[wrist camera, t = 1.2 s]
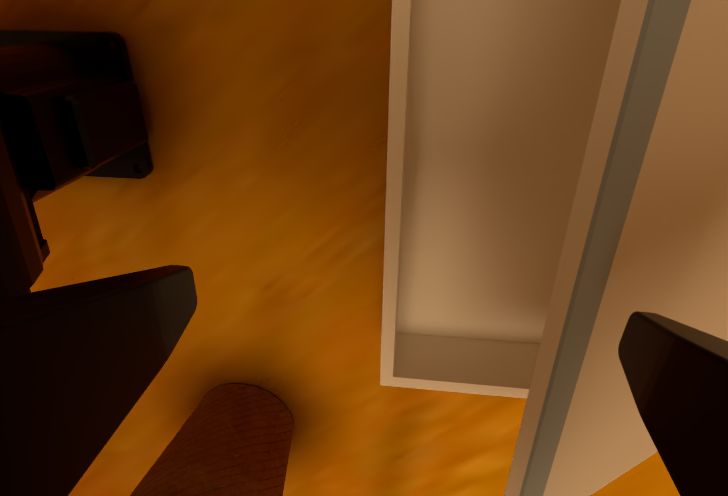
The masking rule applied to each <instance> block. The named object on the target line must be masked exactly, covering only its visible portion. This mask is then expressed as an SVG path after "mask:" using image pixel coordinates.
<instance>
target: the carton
mask: <svg viewBox="0 0 728 496" xmlns="http://www.w3.org/2000/svg"><path fill="white" fill-rule="evenodd" d="M620 3H621V0H392V15H391V47H390V80H389V112H388V144H387V176H386V208H385V241H384V273H383V305H382V337H381V369H380V385H384V386H395V387H406V388H417V389H428V390H439V391H450V392H460V393H471V394H482V395H493V396H504V397H515V398H526V399H527V397H528V393H529V388H530V384H531V380H532V376H533V372H534V367H535V363H536V359H537V355H538V350H539V346H540V342H541V338H542V333H543V329H544V325H545V321H546V317H547V312H548V308H549V304H550V300H551V295H552V291H553V287H554V283H555V278H556V274H557V270H558V266H559V262H560V257H561V253H562V249H563V245H564V240H565V236H566V232H567V228H568V223H569V219H570V215H571V211H572V207H573V202H574V198H575V194H576V190H577V185H578V181H579V177H580V173H581V168H582V164H583V160H584V156H585V152H586V147H587V143H588V139H589V135H590V130H591V126H592V122H593V118H594V113H595V109H596V105H597V101H598V97H599V92H600V88H601V84H602V80H603V75H604V71H605V67H606V63H607V58H608V54H609V50H610V46H611V42H612V37H613V33H614V29H615V25H616V20H617V16H618V12H619V8H620Z"/></svg>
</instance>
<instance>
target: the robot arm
mask: <svg viewBox="0 0 728 496" xmlns="http://www.w3.org/2000/svg"><path fill="white" fill-rule="evenodd" d="M110 39H111V40H112V41H113V42H114V44H115V49H114V50H113V49H112V48H111V47H110V45H109V41H110ZM147 139H148V136H147V132H146V127H145V122H144V118H143V113H142V108H141V104H140V99H139V94H138V90H137V86H136V85H135V83H134V81H133V76H132V72H131V67H130V62H129V58H128V53H127V49H126V44H125V42H124V39H123V38H122V37H121V36H120V35H119V34H117V33H115V32H97V31H35V30H0V496H68V495H69V494H70V492H71V491H72V490H73V488H74V487H75V486H76V484H77V483H78V481H79V480H80V479H81V477H82V476H83V475H84V473H85V472H86V471H87V469H88V468H89V466H90V465H91V464H92V462H93V461H94V460H95V458H96V457H97V456H98V454H99V453H100V451H101V450H102V449H103V447H104V446H105V445H106V443H107V442H108V441H109V439H110V438H111V436H112V435H113V434H114V432H115V431H116V430H117V428H118V427H119V426H120V424H121V423H122V421H123V420H124V419H125V417H126V416H127V415H128V413H129V412H130V411H131V409H132V408H133V406H134V405H135V404H136V402H137V401H138V400H139V398H140V397H141V396H142V394H143V393H144V391H145V390H146V389H147V387H148V386H149V385H150V383H151V382H152V381H153V379H154V378H155V376H156V375H157V374H158V372H159V371H160V370H161V368H162V367H163V365H164V364H165V362H166V361H167V360H168V358H169V356H170V355H171V353H172V351H173V350H174V348H175V346H176V344H177V342H178V341H179V339H180V337H181V335H182V334H183V332H184V330H185V328H186V326H187V325H188V323H189V321H190V319H191V318H192V316H193V314H194V312H195V310H196V306H197V295H196V289H195V283H194V277H193V272H192V270H191V268H189V267H187V266H179V265H168V266H163V267H158V268H153V269H148V270H143V271H138V272H133V273H128V274H123V275H118V276H113V277H108V278H103V279H98V280H93V281H88V282H82V283H77V284H72V285H67V286H62V287H57V288H52V289H47V290H42V291H37V292H32V293H31V290H30V287H31V286H32V285H33V284H34V283H35V281H36V280H37V278H38V277H39V275H40V274H41V272H42V271H43V262H44V261H45V259H46V258H47V256H48V255H49V254H50V250H49V247H48V243H47V240H45V239H43V237H42V233H41V230H40V226H39V223H38V219H37V216H36V212H35V209H34V206H33V202H35V201H37V200H39V199H41V198H43V197H45V196H47V195H48V194H50V193H52V192H54V191H56V190H58V189H60V188H62V187H64V186H66V185H68V184H70V183H71V182H73V181H75V180H77V179H79V178H81V177H83V176H96V177H116V178H136V179H142V178H145V177H146V176H148V175H149V174H151V172H152V164H151V160H150V155H149V150H148V146H147V141H146V140H147ZM137 164H139V165H141V166H142V168H143V171H141V170H140V169H139V168H138V166H137ZM618 355H619V359H620V362H621V365H622V368H623V370H624V373H625V376H626V379H627V382H628V384H629V387H630V390H631V393H632V395H633V398H634V401H635V404H636V406H637V409H638V411H639V414H640V416H641V418H642V421H643V423H644V425H645V427H646V429H647V431H648V433H649V435H650V437H651V439H652V441H653V443H654V445H655V447H656V449H657V451H658V453H659V455H660V457H661V458H662V460H663V462H664V464H665V466H666V468H667V470H668V472H669V474H670V476H671V478H672V480H673V482H674V484H675V486H676V488H677V490H678V492H679V494H680V496H728V341H726V340H724V339H721V338H718V337H716V336H713V335H711V334H708V333H706V332H703V331H700V330H698V329H695V328H693V327H690V326H687V325H685V324H682V323H680V322H677V321H675V320H672V319H669V318H667V317H664V316H662V315H659V314H656V313H650V312H640V311H636V312H633V313H632V314H631V315H630V317H629V319H628V321H627V324H626V327H625V329H624V332H623V334H622V337H621V340H620V342H619V346H618Z"/></svg>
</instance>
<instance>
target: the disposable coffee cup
mask: <svg viewBox="0 0 728 496" xmlns="http://www.w3.org/2000/svg"><path fill="white" fill-rule="evenodd" d="M292 433H293V419H292V416H291V414H290V412H289V411H288V409H287V407H286V406H285V405H284V404H283V403H282V402H281V401H280V400H279V399H277V398H276V397H275V396H273V395H272V394H270V393H269V392H267V391H265V390H262V389H260V388H257V387H254V386H250V385H245V384H226V385H222V386H219V387H216V388H214V389H212V390H211V391H210V392H209V393H207V394H206V396H205V397H204V398H203V400H202V401H201V403H200V404H199V405H198V407H197V408H196V409H195V411H194V412H193V413H192V415H191V416H190V417H189V418H188V420H187V421H186V423H185V424H184V425H183V426H182V428H181V429H180V431H179V432H178V433H177V434H176V436H175V437H174V438H173V440H172V441H171V442H170V443H169V445H168V446H167V447H166V448H165V450H164V451H163V453H162V454H161V456H160V457H159V458H158V459H157V461H156V462H155V464H154V465H153V466H152V467H151V468H150V470H149V471H148V473H147V474H146V475H145V476H144V478H143V479H142V480H141V482H140V483H139V484H138V486H137V487H136V488H135V490H134V491H133V492H132V494H131V495H130V496H282V495H283V489H284V481H285V476H286V470H287V463H288V457H289V451H290V445H291V439H292Z"/></svg>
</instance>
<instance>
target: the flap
mask: <svg viewBox="0 0 728 496" xmlns="http://www.w3.org/2000/svg"><path fill="white" fill-rule="evenodd" d="M636 311H640V312H650V313H656V314H659V315H662V316H664V317H667V318H669V319H672V320H675V321H677V322H680V323H682V324H685V325H687V326H690V327H693V328H695V329H698V330H700V331H703V332H706V333H708V334H711V335H713V336H716V337H718V338H721V339H724V340H726V341H728V0H621V3H620V8H619V12H618V16H617V20H616V25H615V29H614V33H613V37H612V42H611V46H610V50H609V54H608V58H607V63H606V67H605V71H604V75H603V80H602V84H601V88H600V92H599V97H598V101H597V105H596V109H595V113H594V118H593V122H592V126H591V130H590V135H589V139H588V143H587V147H586V152H585V156H584V160H583V164H582V168H581V173H580V177H579V181H578V185H577V190H576V194H575V198H574V202H573V207H572V211H571V215H570V219H569V223H568V228H567V232H566V236H565V240H564V245H563V249H562V253H561V257H560V262H559V266H558V270H557V274H556V278H555V283H554V287H553V291H552V295H551V300H550V304H549V308H548V312H547V317H546V321H545V325H544V329H543V333H542V338H541V342H540V346H539V350H538V355H537V359H536V363H535V367H534V372H533V376H532V380H531V384H530V388H529V393H528V397H527V401H526V405H525V410H524V414H523V418H522V422H521V427H520V431H519V435H518V439H517V443H516V448H515V452H514V456H513V460H512V465H511V469H510V473H509V477H508V482H507V486H506V490H505V494H504V496H590V495H592V494H593V493H595V492H596V491H598V490H599V489H601V488H602V487H604V486H605V485H607V484H609V483H610V482H612V481H613V480H615V479H616V478H618V477H619V476H621V475H622V474H624V473H625V472H627V471H629V470H630V469H632V468H633V467H635V466H636V465H638V464H639V463H641V462H642V461H644V460H645V459H647V458H649V457H650V456H652V455H653V454H655V453H656V452H658V451H657V449H656V447H655V445H654V443H653V441H652V439H651V437H650V435H649V433H648V431H647V429H646V427H645V425H644V423H643V421H642V418H641V416H640V414H639V411H638V409H637V406H636V404H635V401H634V398H633V395H632V393H631V390H630V387H629V384H628V382H627V379H626V376H625V373H624V370H623V368H622V365H621V362H620V359H619V355H618V346H619V342H620V340H621V337H622V334H623V332H624V329H625V327H626V324H627V321H628V319H629V317H630V315H631V314H632V313H633V312H636Z"/></svg>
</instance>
